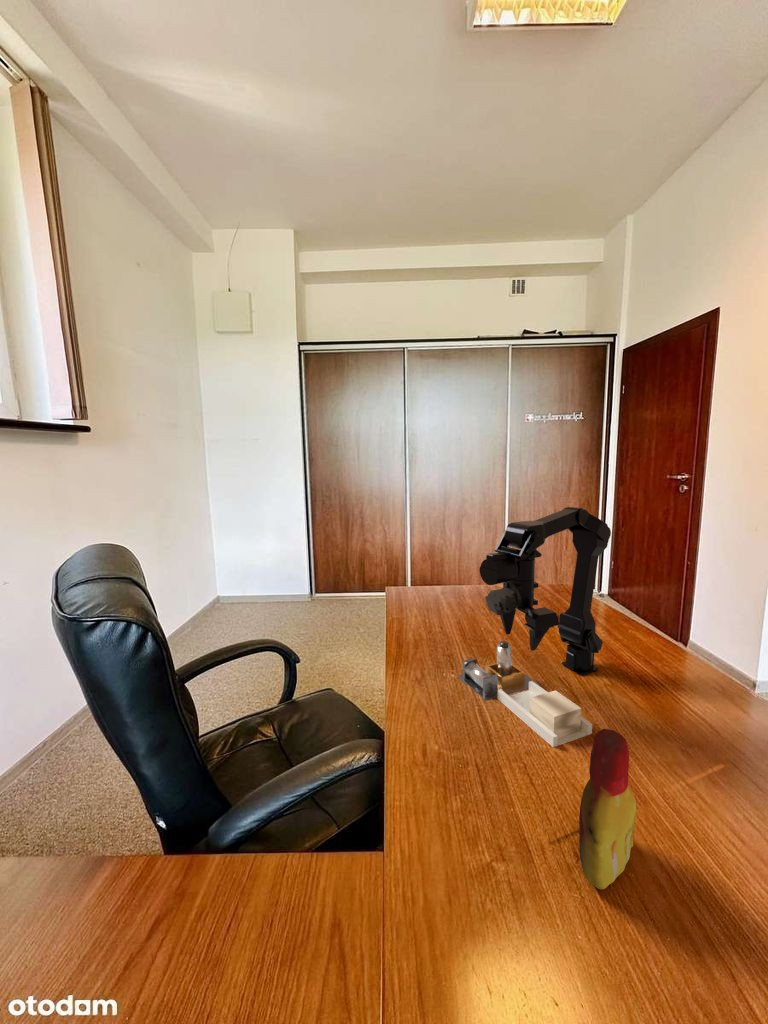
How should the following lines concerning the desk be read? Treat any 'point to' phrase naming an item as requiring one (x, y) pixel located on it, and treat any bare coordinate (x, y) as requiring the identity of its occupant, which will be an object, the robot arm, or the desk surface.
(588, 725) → the bay
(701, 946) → the desk surface
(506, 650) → the capped metal canister
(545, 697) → the pale wooden block
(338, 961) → the desk surface
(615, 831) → the bottle
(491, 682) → the grey metal holder
